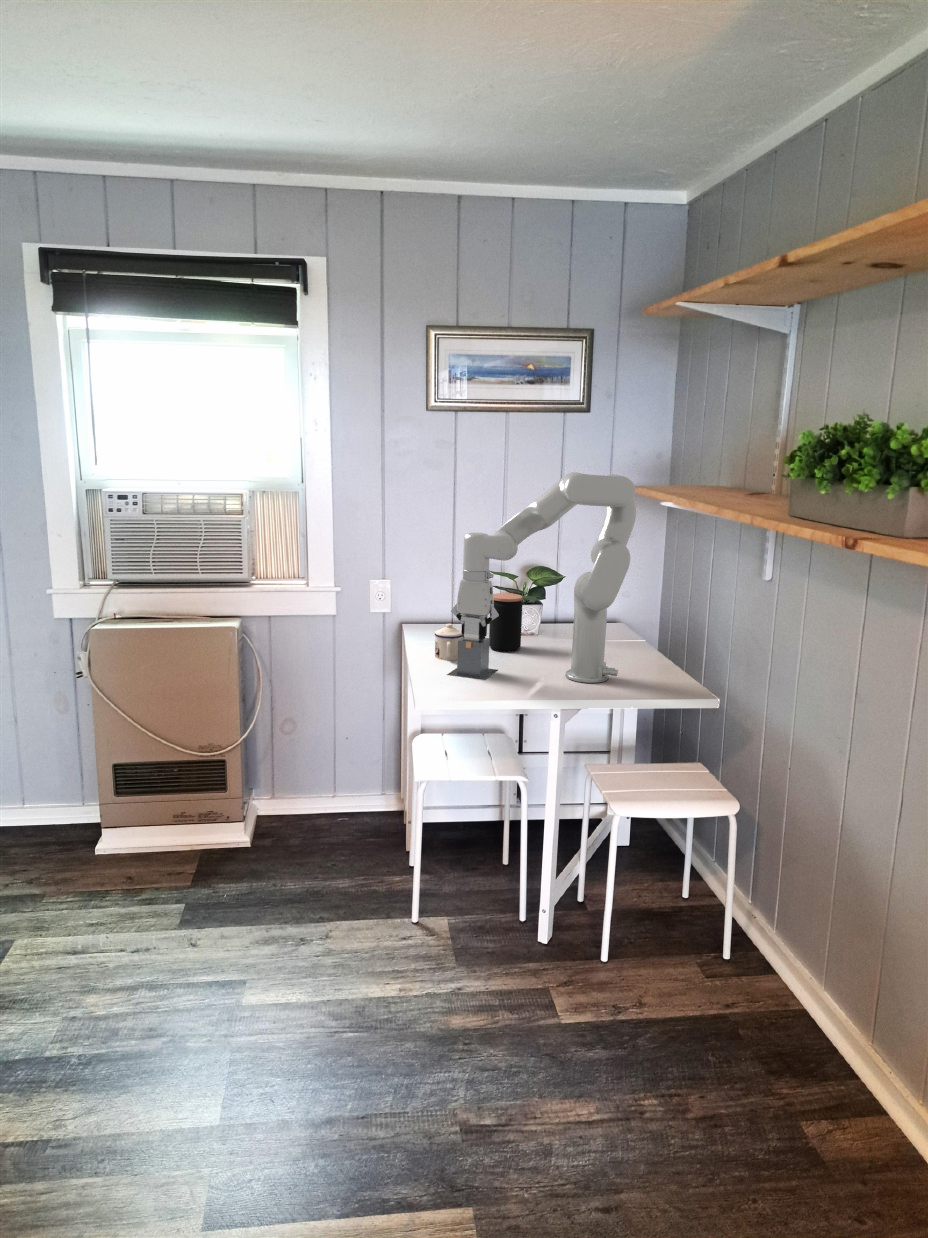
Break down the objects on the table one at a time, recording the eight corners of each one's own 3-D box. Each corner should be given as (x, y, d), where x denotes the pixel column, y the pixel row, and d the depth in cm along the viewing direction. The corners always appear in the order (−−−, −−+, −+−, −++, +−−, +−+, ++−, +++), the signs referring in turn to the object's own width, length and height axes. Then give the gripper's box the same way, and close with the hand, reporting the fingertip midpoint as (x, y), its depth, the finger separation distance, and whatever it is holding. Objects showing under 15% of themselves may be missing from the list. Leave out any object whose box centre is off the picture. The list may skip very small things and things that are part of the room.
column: (485, 671, 250) (487, 615, 246) (478, 676, 244) (480, 618, 241) (466, 668, 252) (468, 613, 248) (459, 673, 246) (461, 616, 243)
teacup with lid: (434, 656, 269) (435, 620, 267) (462, 657, 270) (463, 621, 267) (433, 666, 258) (434, 629, 255) (463, 667, 258) (464, 630, 255)
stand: (498, 673, 252) (499, 637, 249) (485, 684, 241) (486, 646, 238) (461, 668, 256) (462, 633, 253) (446, 678, 245) (447, 641, 242)
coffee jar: (521, 645, 286) (523, 593, 283) (519, 653, 276) (522, 599, 272) (489, 644, 287) (491, 592, 284) (487, 651, 277) (489, 598, 273)
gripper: (507, 576, 242) (505, 638, 246) (453, 571, 248) (451, 632, 252) (499, 580, 235) (497, 643, 239) (443, 575, 241) (442, 637, 245)
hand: (473, 637), depth 246 cm, fingers closed on column, 4 cm apart
